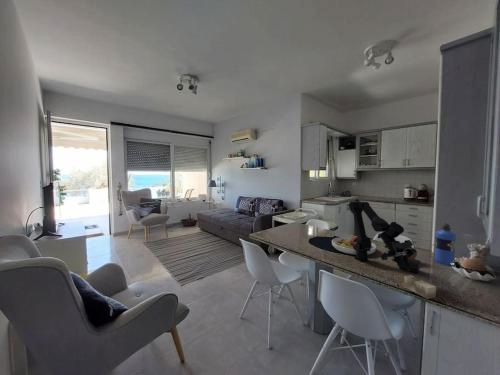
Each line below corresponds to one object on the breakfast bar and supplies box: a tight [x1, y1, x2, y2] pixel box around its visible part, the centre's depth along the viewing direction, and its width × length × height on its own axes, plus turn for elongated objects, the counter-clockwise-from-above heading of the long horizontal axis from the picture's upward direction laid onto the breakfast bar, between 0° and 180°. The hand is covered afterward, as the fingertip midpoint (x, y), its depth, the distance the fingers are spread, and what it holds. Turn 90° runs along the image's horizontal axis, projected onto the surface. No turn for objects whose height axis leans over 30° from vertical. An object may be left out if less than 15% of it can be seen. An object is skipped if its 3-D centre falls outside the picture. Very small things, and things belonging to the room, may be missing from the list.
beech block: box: [401, 274, 437, 300], centre depth 99 cm, size 5×5×12 cm
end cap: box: [396, 258, 422, 274], centre depth 121 cm, size 10×7×7 cm
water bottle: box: [434, 222, 457, 266], centre depth 130 cm, size 9×9×25 cm
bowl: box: [331, 235, 377, 256], centre depth 156 cm, size 30×30×8 cm
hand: (409, 270), depth 103 cm, fingers closed
